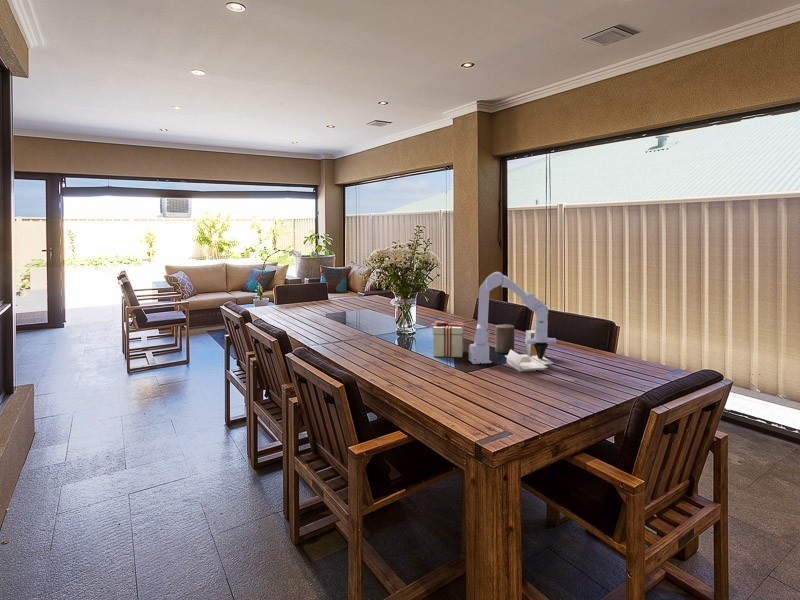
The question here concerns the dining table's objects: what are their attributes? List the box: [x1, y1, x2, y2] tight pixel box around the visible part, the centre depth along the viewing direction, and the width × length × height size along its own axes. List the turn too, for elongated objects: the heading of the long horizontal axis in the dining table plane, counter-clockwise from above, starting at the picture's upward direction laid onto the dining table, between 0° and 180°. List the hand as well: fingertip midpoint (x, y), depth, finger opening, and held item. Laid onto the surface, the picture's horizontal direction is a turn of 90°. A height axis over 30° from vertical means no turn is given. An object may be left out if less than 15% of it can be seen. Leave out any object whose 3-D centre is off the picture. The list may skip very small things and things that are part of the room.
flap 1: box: [506, 349, 523, 366], centre depth 218 cm, size 4×14×1 cm
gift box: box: [430, 320, 465, 358], centre depth 244 cm, size 17×18×17 cm
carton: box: [504, 353, 549, 373], centre depth 219 cm, size 12×23×2 cm, turn 9°
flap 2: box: [531, 355, 554, 366], centre depth 220 cm, size 4×14×1 cm, turn 8°
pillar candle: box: [494, 323, 515, 354], centre depth 246 cm, size 10×10×15 cm
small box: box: [524, 329, 546, 359], centre depth 235 cm, size 8×6×13 cm
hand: (540, 358), depth 220 cm, fingers closed
